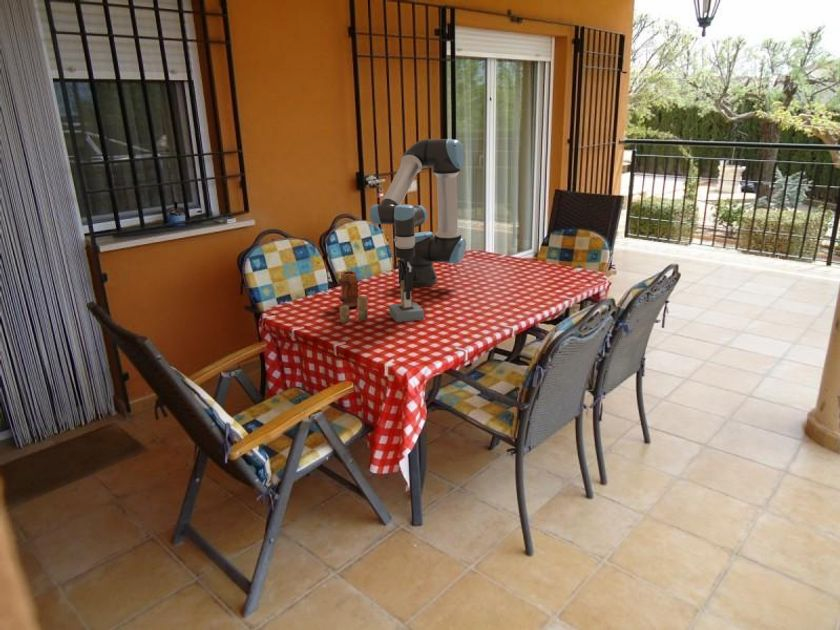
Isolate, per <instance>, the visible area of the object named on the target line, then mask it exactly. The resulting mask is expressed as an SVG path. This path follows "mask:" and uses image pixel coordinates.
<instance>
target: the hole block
mask: <svg viewBox="0 0 840 630" xmlns="http://www.w3.org/2000/svg"><path fill="white" fill-rule="evenodd" d="M388 313H389V315H390V316H391V317H392V319H393V320H394V321H395V322H396V323H402V322H403V321H404V322H410V321H411V322H412V321H420V320H425V311H424V308H422V307H421V306H420V305H419V304H418V303H417V302H412V301H411V309H408V310H402V309H401V303H395V304H389V305H388Z"/></svg>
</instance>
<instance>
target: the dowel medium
mask: <svg viewBox="0 0 840 630" xmlns="http://www.w3.org/2000/svg"><path fill="white" fill-rule="evenodd" d="M357 320H358V321H360V322H366V321H368V296H365V295H359V297H358V305H357Z"/></svg>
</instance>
